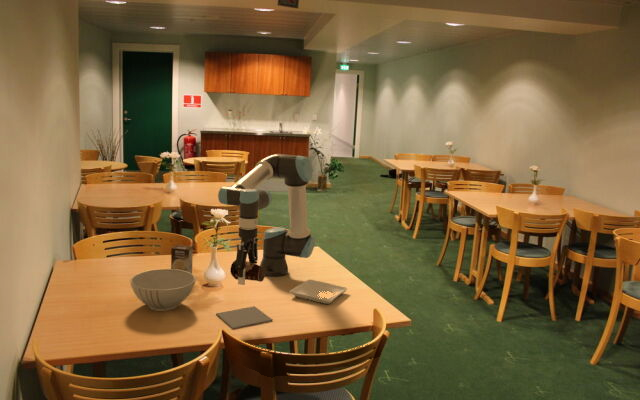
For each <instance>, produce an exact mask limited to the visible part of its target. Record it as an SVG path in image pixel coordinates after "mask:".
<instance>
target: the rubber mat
mask: <svg viewBox="0 0 640 400" xmlns="http://www.w3.org/2000/svg"><path fill="white" fill-rule="evenodd" d="M215 316H217V317H218V318H219V319H220V320H221V321H223V322H224V323H225V324H226V325H227V326H228V327H229V328H231V330H236V329H241V328H244V327H250V326H256V325H259V324H260V325H261V324H265V323H269V321H270V322H273V319H272V318H271V317H270V316H268V315H267V314H265V312H264V311H261V310H260V309H259V308H258V307H256V306H248V307H247V306H246V307H244V308H239V309H233V310H227V311H222V312H216V313H215ZM264 322H265V323H264Z"/></svg>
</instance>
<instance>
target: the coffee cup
mask: <svg viewBox="0 0 640 400" xmlns="http://www.w3.org/2000/svg"><path fill="white" fill-rule="evenodd" d="M235 266H236V259H235V260H234V261H233V262H232V263H231V265H230V274H231V276H232V277H233V278H234V279H235V280H237V281H238V269H236V268H235ZM244 269H245V281H257V282H259V283H260V282H263V281H264V279H265V277H266V275H265V274H266V269H265V267H264V266H260V265H258V263H257V264H254V263H251V262H249V260H248V261H247V260H246V262H245V267H244Z"/></svg>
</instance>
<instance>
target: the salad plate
mask: <svg viewBox="0 0 640 400" xmlns="http://www.w3.org/2000/svg"><path fill="white" fill-rule="evenodd" d="M347 290H348V287H346V286H341V285H336V284H333V283H328V282H325V281H324V282H323V281H319V280H315V279H307V280H305V281H304V282H302V283H300V284H299V285H296V287H294V288H292V289H290V290H289V293H290V294H291V295H292V296H295V297H297V298H300V297H301V298H300V299H303V298H305V299H304V300H307V299H309V300H308V301H311V300H313V301H312V302H315V301H317V303H320V302H321V304H326V305H327V304H331V303H332V302H333V301H334V300H336V299H337V298H338V297H340V296H341V295H343V294H344V293H345V292H346V291H347ZM319 291H320V292H322V291H323V292H324V291H325V292H327V291H329V292H331V293H334V292H335V293H336V292H339V293H338V294H337V295H335V296H333V297H331V298H329V299H327V298H325V297H324V298H322V297H321V298H322V299H321V298H320V296H319V295H318V294H319V293H320V292H319ZM323 292H322V293H323ZM325 292H324V293H325ZM335 293H334V294H335ZM326 294H327V293H326ZM334 294H333V295H334ZM317 295H318V296H319V297H318V296H317ZM319 298H320V299H319Z"/></svg>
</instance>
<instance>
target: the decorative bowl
mask: <svg viewBox="0 0 640 400" xmlns="http://www.w3.org/2000/svg"><path fill="white" fill-rule="evenodd" d="M196 281H197V278H196V276H195V275H194V274H193V273H192V274H191V273H189V272H186V271H183V270H177V269H171V268H157V269H149V270H145V271H142V272H139V273H136V274H135V275H133V276H132V277H130V280H129V282H130V286H131V289H132V291H133V293H134V295H135V296H136V297H137V299H138V300H139V301H140V302H141V303H142V304H145V305H146V306H148V308H149V309H150V310H152V311H156V312H168V311H171V310H174V309H176V308H178V306H179V304H182V302H184V301H185V300H186V299H188V297H189V296H190V295H191V292H192V291H193V289H194V287H195V284H196Z"/></svg>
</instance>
